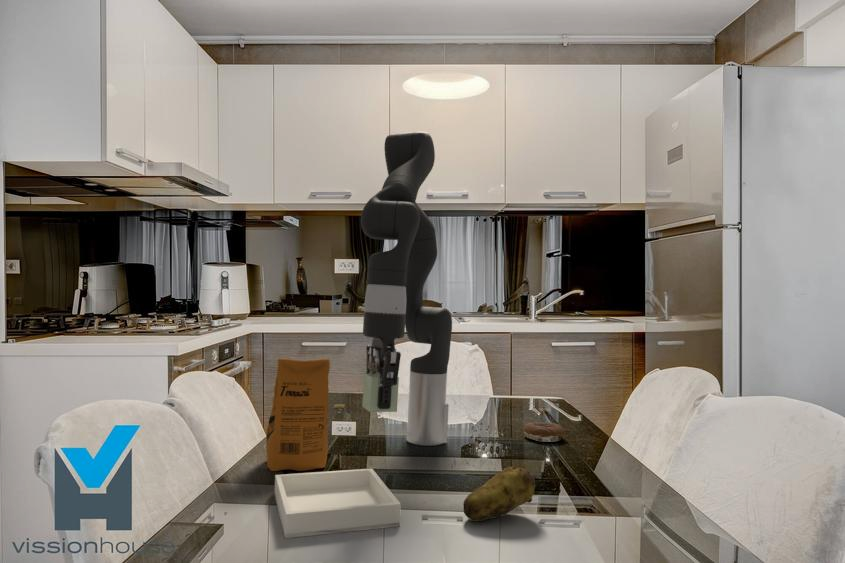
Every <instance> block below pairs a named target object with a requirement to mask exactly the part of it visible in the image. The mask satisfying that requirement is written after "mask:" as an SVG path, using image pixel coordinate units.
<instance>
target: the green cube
mask: <svg viewBox="0 0 845 563" xmlns="http://www.w3.org/2000/svg"><path fill="white" fill-rule="evenodd" d="M363 374H364V375H363V391H362V392H363V393H362V404H361V405H362V408H364V409H365V410H366V411H368V412H369V413H393V412H394V413H396V412H398V400H399V397H398V396H399V382H400V377H399V376H398V379H397V384H396V385H393V387H391V388H392V390H391V406H390V408H389V409H379V408H378V406H377V404H378V388H379V385H378V379H379V377H378V375H377V374H370V373H366V372H365V373H363ZM387 378H389V375H388V374H387Z"/></svg>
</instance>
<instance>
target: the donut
mask: <svg viewBox="0 0 845 563" xmlns="http://www.w3.org/2000/svg"><path fill="white" fill-rule="evenodd" d="M523 427H524V428H523V431H522V432H523V434H524V433H525V434H527V435H530V436H534V437H541V438H552V437H559V436H562V435H564V433H565V430H564V428H563V427H562V426H561V425H560V424H557V423H554V422H553V423H552V422H530V423H526V424H525V425H524V426H523ZM564 436H565V435H564Z"/></svg>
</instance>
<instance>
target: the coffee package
mask: <svg viewBox="0 0 845 563" xmlns="http://www.w3.org/2000/svg"><path fill="white" fill-rule="evenodd" d="M330 369H331V364H330V359H329V358H321V359H313V360H296V359H290V358H281V357H278V361H277V370H276V371H277V372H276V377H275V384H274V389H273V391H274V395H273V398H272V406H271V407H272V408H271V413H270V415H269V418H268V424H267V430H266V443H265V444H266V446H265V447H266V450H265V452H266V460H267V461H266V466H267V468H268V469H269V471H271V472H278V471H279V472H280V471H284V470H293V471H297V472H303V471H304V472H305V471H312V470H313V471H314V470H318V469H323V468H325V467H326V465H327V460H328V447H329V444H328V415H329V414H328V413H329V393H330V392H329V374H330Z"/></svg>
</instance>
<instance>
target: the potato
mask: <svg viewBox="0 0 845 563" xmlns="http://www.w3.org/2000/svg"><path fill="white" fill-rule="evenodd" d="M535 490H536V480H535V478H534V476H533V475H532V474H531V473H530V472H529V471H528V470H526V469H525V468H522V467H519V466H509V467H505V468H504V469H502V470H501V471H499V472H497V473H496V474H494V475H493V476H492V477H491V478H490V479H489V480H487V481H486V482H485V483H484V484H483V485H482V486H480V487H478V488H476V489H475V490H473V491H472V492H471V493H469V494H468V495H467V496H466V497H465V499H464V501H463V514H464V516H466V517H467V518H468V519H469V520H471V522H482V521H485V520H488V519H495V518H499V517H502V516H504V515H506V514H508V513H511V511H513V510H514V509H516V508H518V507H520V506H522V505H523V504H526V503H531V502H533V496H534V494H535Z"/></svg>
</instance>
